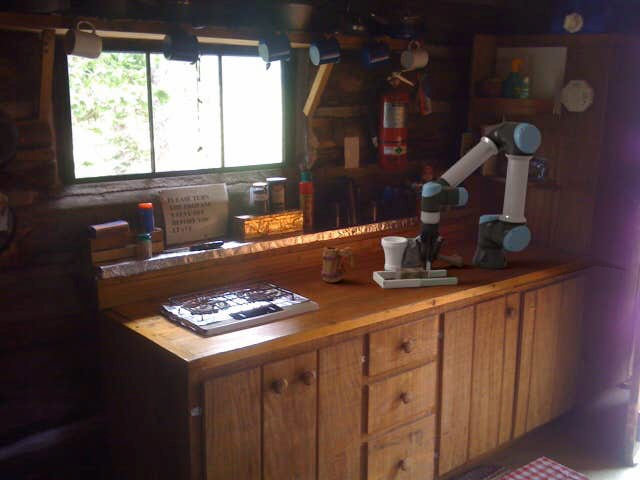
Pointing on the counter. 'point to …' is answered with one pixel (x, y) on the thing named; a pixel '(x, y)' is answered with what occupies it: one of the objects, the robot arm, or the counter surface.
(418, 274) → the chip
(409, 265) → the hammer
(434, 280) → the slot rails
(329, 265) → the mug
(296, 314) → the counter surface
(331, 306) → the counter surface
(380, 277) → the tray frame
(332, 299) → the counter surface
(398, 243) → the cup
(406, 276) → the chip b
